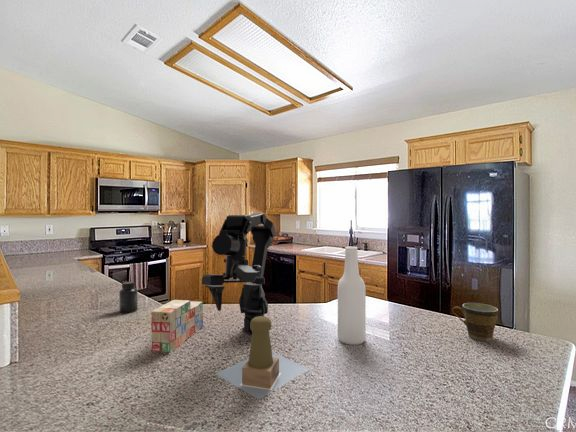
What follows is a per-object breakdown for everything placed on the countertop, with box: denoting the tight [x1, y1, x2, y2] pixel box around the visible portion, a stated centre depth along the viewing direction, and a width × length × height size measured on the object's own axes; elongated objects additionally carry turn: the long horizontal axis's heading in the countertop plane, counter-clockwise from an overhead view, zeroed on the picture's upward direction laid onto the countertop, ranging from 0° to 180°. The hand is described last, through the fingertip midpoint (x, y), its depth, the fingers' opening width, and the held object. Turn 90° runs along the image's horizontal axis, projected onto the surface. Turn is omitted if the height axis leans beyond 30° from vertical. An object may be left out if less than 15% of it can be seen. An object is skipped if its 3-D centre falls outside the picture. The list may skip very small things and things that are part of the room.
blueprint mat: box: [214, 352, 310, 400], centre depth 79 cm, size 18×16×1 cm
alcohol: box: [337, 245, 367, 346], centre depth 99 cm, size 9×9×30 cm
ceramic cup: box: [451, 302, 499, 343], centre depth 101 cm, size 13×10×10 cm
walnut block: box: [242, 357, 279, 389], centre depth 75 cm, size 7×7×4 cm
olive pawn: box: [248, 315, 273, 369], centre depth 75 cm, size 6×6×11 cm
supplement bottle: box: [118, 281, 139, 314], centre depth 130 cm, size 7×7×12 cm
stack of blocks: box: [150, 299, 204, 353], centre depth 101 cm, size 21×6×12 cm, turn 169°
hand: (232, 309), depth 91 cm, fingers open, 9 cm apart
